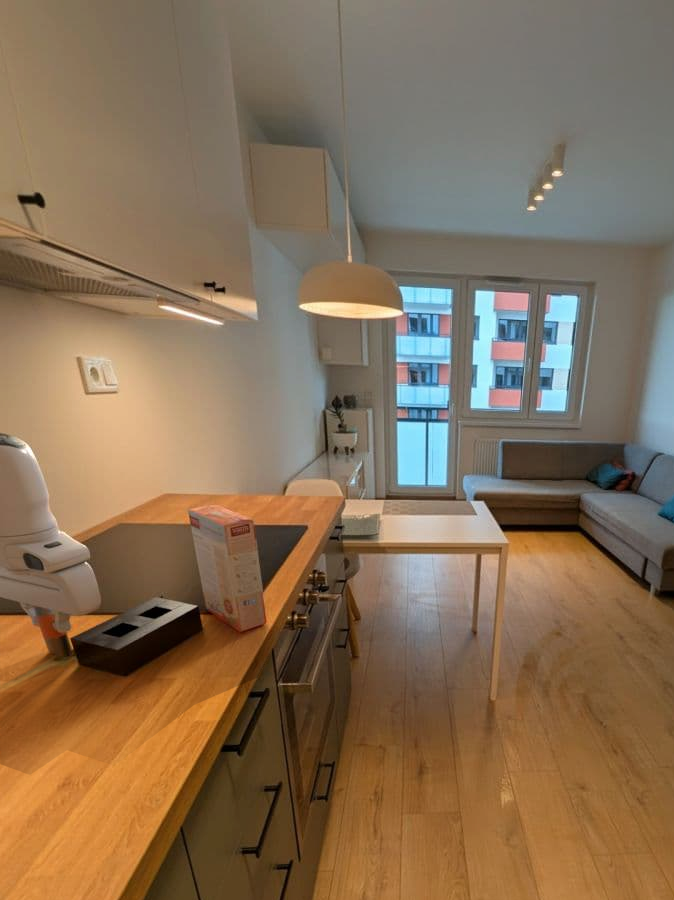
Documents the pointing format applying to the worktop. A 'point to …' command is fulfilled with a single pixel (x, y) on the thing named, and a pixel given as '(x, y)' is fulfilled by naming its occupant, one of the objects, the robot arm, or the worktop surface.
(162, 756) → the worktop surface
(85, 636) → the holder
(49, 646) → the orange banded battery
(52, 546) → the robot arm
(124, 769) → the worktop surface
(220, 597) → the cracker box
